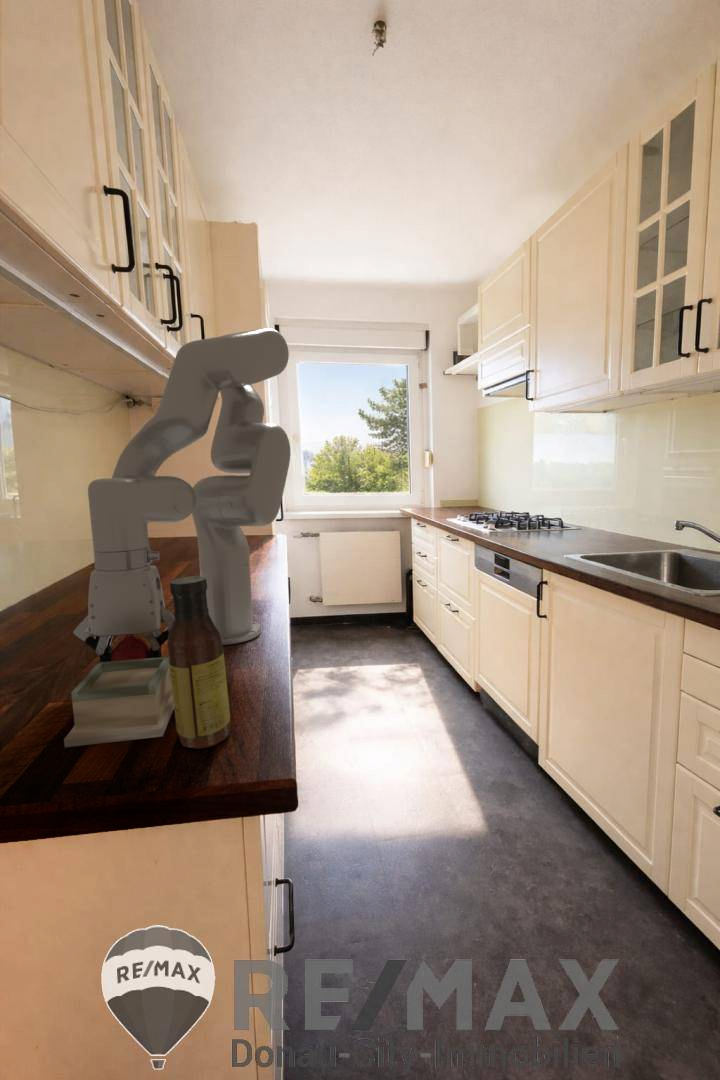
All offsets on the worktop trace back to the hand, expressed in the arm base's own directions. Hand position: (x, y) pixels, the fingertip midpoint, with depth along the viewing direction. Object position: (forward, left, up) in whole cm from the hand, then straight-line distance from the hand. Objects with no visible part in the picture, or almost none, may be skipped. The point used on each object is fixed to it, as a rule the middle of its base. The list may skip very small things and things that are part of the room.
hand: (132, 672), depth 74 cm
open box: (+12, +3, -1) cm, 12 cm away
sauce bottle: (+19, +13, -2) cm, 23 cm away
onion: (0, 0, -2) cm, 2 cm away
